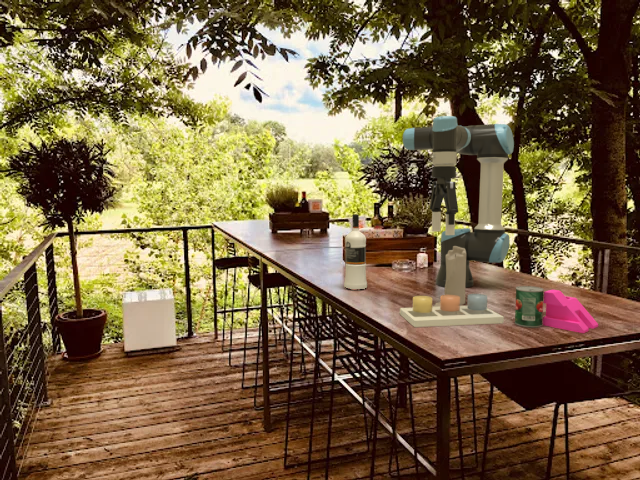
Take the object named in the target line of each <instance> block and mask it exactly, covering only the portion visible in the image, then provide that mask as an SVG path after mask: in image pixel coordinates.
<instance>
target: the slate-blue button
mask: <svg viewBox="0 0 640 480" xmlns="http://www.w3.org/2000/svg"><path fill="white" fill-rule="evenodd" d="M466 305H467V308H468V309H471V310H486V309H487V308H488V295H487V294H484V293H483V294H482V293H469V294H467V304H466Z"/></svg>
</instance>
